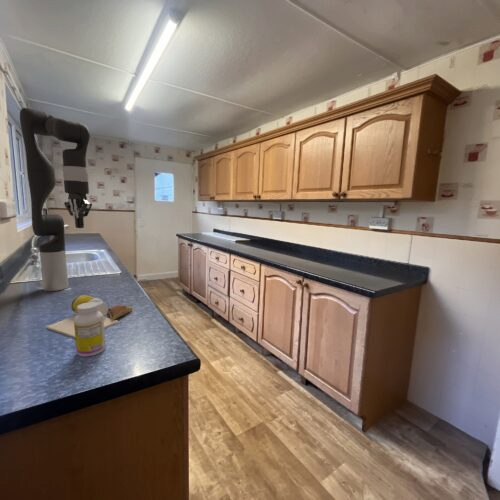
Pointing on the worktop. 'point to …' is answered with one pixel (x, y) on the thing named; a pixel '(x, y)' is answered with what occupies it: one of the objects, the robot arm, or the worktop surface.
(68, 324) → the mat
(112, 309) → the shard
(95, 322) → the supplement bottle
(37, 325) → the worktop surface
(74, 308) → the pill bottle
